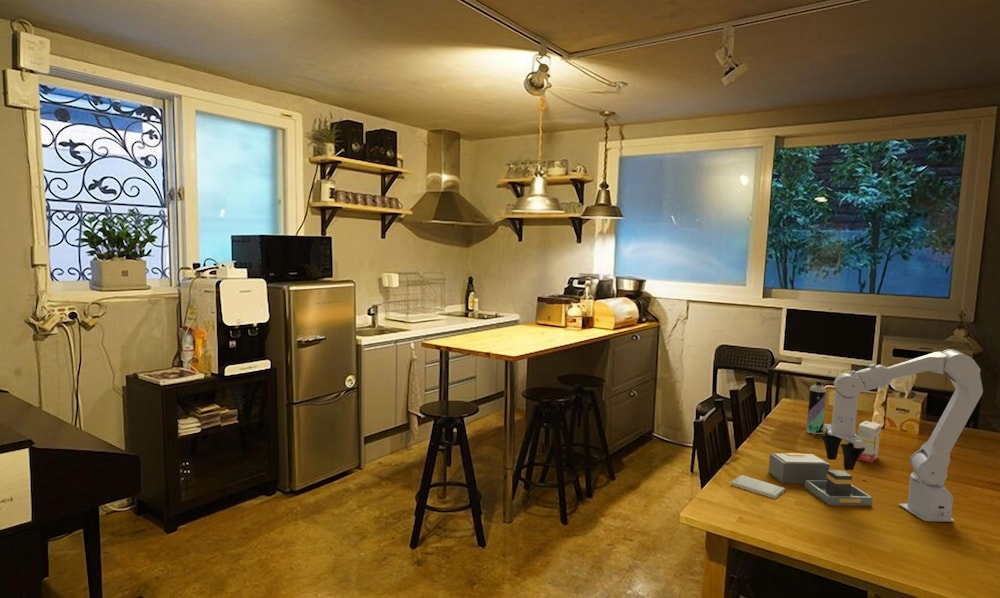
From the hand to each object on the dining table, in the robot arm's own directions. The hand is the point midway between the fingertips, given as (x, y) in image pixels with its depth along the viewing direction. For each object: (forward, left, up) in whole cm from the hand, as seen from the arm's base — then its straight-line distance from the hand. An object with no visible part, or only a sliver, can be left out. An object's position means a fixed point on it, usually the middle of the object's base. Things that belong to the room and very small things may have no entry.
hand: (840, 464), depth 161 cm
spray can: (+58, -28, -10) cm, 65 cm away
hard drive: (+5, +20, -10) cm, 23 cm away
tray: (0, 0, -9) cm, 9 cm away
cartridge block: (0, 0, -9) cm, 9 cm away
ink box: (+31, -30, -10) cm, 44 cm away
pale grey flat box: (+13, +4, -9) cm, 17 cm away
